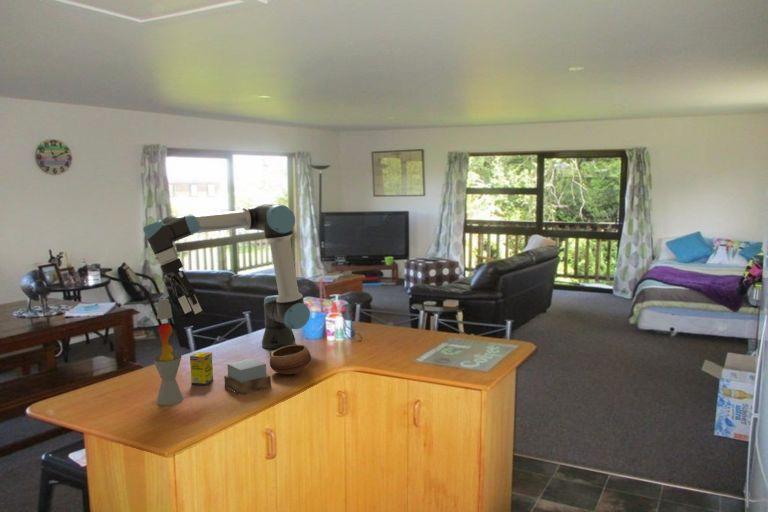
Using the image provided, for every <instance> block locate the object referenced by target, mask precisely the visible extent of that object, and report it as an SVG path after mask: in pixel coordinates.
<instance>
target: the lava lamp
mask: <svg viewBox="0 0 768 512" xmlns="http://www.w3.org/2000/svg"><path fill="white" fill-rule="evenodd" d="M156 314H157V315H156V319H158V320H166V319H171V318H173V316H174V315H173V312H172V307H171V304H170V300H169V298H159V300H158V306H157V313H156ZM172 333H173V327H172V325H171V324H169V323H162V324H161V325H160V326H159V327H158V334H159V337H160V339H161V347H162V348H161V355H158V356H157V355H156V357H154V358H152V360H153V363H154V365H155V368H156V370H157V372H158V374H159V377H160V379H161V383H160V386H159V390H158V395H157V398H156V404H157V405H160V406H171V405H176V404H179V403H182V402H183V401H184V397H183V394H182V392H181V389H180V386H179V385H178V381H177V379H176V377H177V376H178V375H177V374H178V371H179V367H180V364H181V360H182V355H181V354H179V353H178V354H177V353H173V352H174V351H173V350H174V349H173V346H172V345H170V344H169V340H170V336H171V335H172Z"/></svg>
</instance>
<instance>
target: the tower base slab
mask: <svg viewBox="0 0 768 512" xmlns="http://www.w3.org/2000/svg"><path fill="white" fill-rule="evenodd" d="M266 375H267V376H265V377H261V378H257V379H253V380H249V381H245V382H239V381H237V380H235V379H233V378H231V377H229V376H228V374H227V375H224V387H225V388H226V387H227V389H228V388H229V389H228V390H230V389H231V390H230V391H232V390H233V391H232V392H234V391H235V392H234V393H235V394H237V393H238V395H239V394H240V395H239V396H243V395H247V394H251V393H255V392H257V391H261V389H262V390H265V389H269V388H271V387H272V381H271V380H272V379H271V377H272V376H271V375H269V374H267V373H266ZM264 388H265V389H264ZM246 393H247V394H246ZM242 394H243V395H242Z"/></svg>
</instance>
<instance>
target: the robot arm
mask: <svg viewBox="0 0 768 512" xmlns="http://www.w3.org/2000/svg"><path fill="white" fill-rule="evenodd" d="M295 216H296V215H295V214H294V212H293V211H292V209H291V208H290V207H288V206H287V205H284V204H280V203H279V204H278V203H277V204H274V203H271V204H269V203H268V204H267V203H266V204H261V205H255V206H249V207H243V208H242V209H241V210H235V211H231V210H230V211H222V212H212V213H209V212H208V213H201V214H200V213H199V214H193V213H190V214H187V215H176V216H165V217H163V218H162V219H160V220H159V219H158V220H157V221H154V222H152V223H149V224H146V225H145V226H143V228H142V229H143V230H142V231H143V232H144V235H145V238H146V240H147V243H148V244H149V246H150V248H151V249H152V251H153V254H154V255H155V257H154V260H155V261H157V263H158V264H159V265H160V269H161V271H162V273H163V275H167V278H168V280H169V282H170V286H171V288H172V292H173V294H174V296H175V297H176V298H177V300H178V302H179V304H180V306H181V308H182V311H183V313H184V314H185V315H186V314H187V313H190V312H192V310H193V313H194V315H196V314H198V313H200V312H203V309H202V306H201V305H200V303H199V301H198V298H197V296H196V293H197V292H196V291H195V288H194V287H193V285H192V284H191V282H190V281H189V279H188V278H187V276H186V275H185V272H184V271H183V270H180V269H182V268H184V264H183V262H182V260H181V259H180V258H179V254H178V251H177V249H176V248H175V246H174V243H175V242H177V241H180V240H183V239H184V238H187V237H190V236H193V235H195V234H199V233H200V234H201V233H209V232H210V233H211V232H219V231H220V232H221V231H229V230H237V229H244V230H245V231H252V230H253V231H256V230H257V231H262V232H263V233H264V237H265V240H267V241H268V242H269V245H270V246H269V247H270V250H271V258H272V262H273V263H272V264H273V269H274V275H275V280H276V281H275V282H276V285H277V286H276V287H277V291H278V292H277V294H276V295H275V294H274V295H273V294H272V295H267V296H265V297H264V300H263V309H264V310H263V313H264V333H263V336H262V339H261V347H262V348H264V349H268V350H277V349H279V348H281V347H285V346H289V345H297V344H296V337H295V335H294V332H293V330H300V329H302V328H303V327H305V325H307V323H308V322H309V320H310V317H311V310H310V308H309V307H308V305H307V304H305V301H304V300H305V299H304V296H303V294H302V293H300V291H299V288H298V280H297V275H296V268H295V262H294V261H295V260H294V255H293V250H292V243H291V238H292V237H293V235H294V233H293V232H294V231H293V229H294V227H295V224H296V217H295Z"/></svg>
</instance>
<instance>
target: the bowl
mask: <svg viewBox="0 0 768 512" xmlns="http://www.w3.org/2000/svg"><path fill="white" fill-rule="evenodd" d="M311 359H312V356H311V352H310V350H309V349H308V347H307V346H306V345H304V344H303V345H302V344H295V345H289V346H285V347H281V348H279V349H274V350H272V351H270V352H269V367H270V368H271V369H272V371H273V372H275V373H278V374H280V375H286V376H287V375H295V374H298V373H300V372H302V371H303V370H305V369H307V367H308V366H309V365H310V363H311V361H312V360H311Z"/></svg>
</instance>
